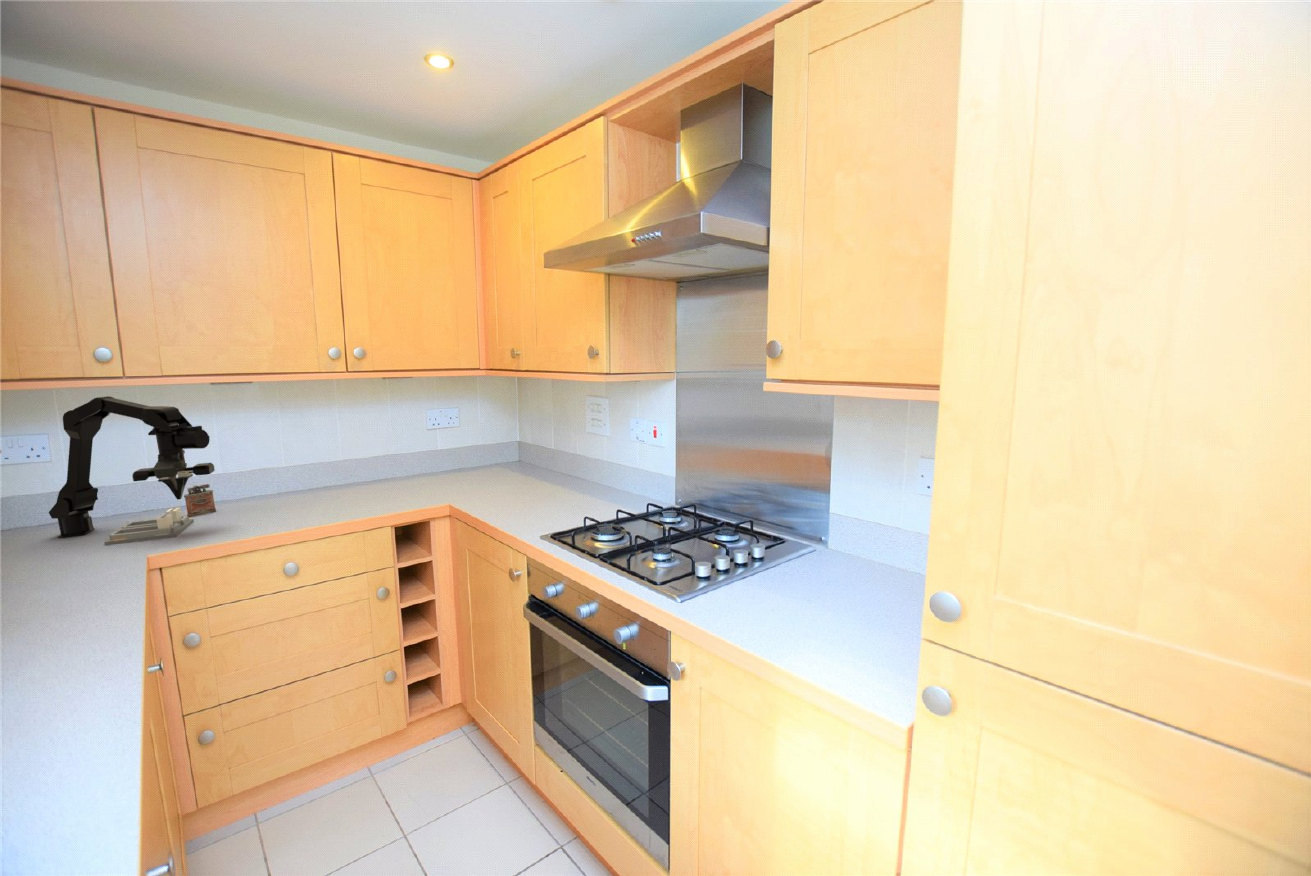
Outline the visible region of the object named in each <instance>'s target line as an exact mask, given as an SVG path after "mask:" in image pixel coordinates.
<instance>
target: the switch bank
mask: <svg viewBox="0 0 1311 876" xmlns="http://www.w3.org/2000/svg"><path fill="white" fill-rule="evenodd" d="M181 516H182V519H181V520H179V521H173V526H172V527H171V528H166V529H158V526H157V520H156V519H157V518H154V519H153V518H152V519H145V520H136V521H135V520H134V521H131V522H127V523H125V524H123V525H122V526H121V528H120V529H117V530H114V531H113V532H112V533H110V534H109V535H108V537H109V538H108V539H107V540H105V541H104V544H103V545H104V546H110V545H119V544H126V543H127V544H128V543H134V542H135V543H136V542H144V541H145V542H146V541H153V540H159V539H160V540H161V539H169V538H176V537H178V536H179V535H181V533H183V532H184V531H185V530H187V529H188V528H189V527H190V526H191V525H192V524H193V523H194V522H195V521H194V520H195V519H194V518H190V517H188V516H187V515H181ZM182 531H183V532H182Z"/></svg>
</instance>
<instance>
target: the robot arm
mask: <svg viewBox="0 0 1311 876" xmlns="http://www.w3.org/2000/svg"><path fill="white" fill-rule="evenodd" d="M110 414H115V415H119V416H123V417H127V418H133V419H136V420H139V421H142V422H143V423H144V424H145V425H147V426H150V427H152V429H151V430H150V431H149V432H148V433H147V435H148V436H155V439H156V443H157V445H156V446H157V450H158V454H157V462H156V463H155V465H154V466H153V467H147V468H146V467H143V468H140V469H137V470H135V471H134V472H133V473H132V481H133V482H141V481H142V482H143V481H144V482H145V481H147V480H148V479H149V478H152V477H156V479H157V482H159V483H161V482H162V483H163V484H165V485H166V487H168V488H169V489H170V491H171V493H172V494H173V495H174V497H175V499H176V500H177V501H179V500H182V497H183V496H184V491H185V487H186V485H187V483H188V481H189V479H191V478H192V477H194V475H196V476H207V475H211V474H212V473H214V472H215V471H216V470H215V465H214V463H212V462H203V463H197V464H195V465H194V466H189V467H188V464H187V463H188V462H186V459H185V458H186V457H185V453H186V452H185V450H187V449H188V450H189V449H190V450H192V449H193V450H194V449H195V450H196V449H205V448H207V447H208V445H209V444H210V441H211V439H210V435H209V433H208V432H207V431H206V430H205V429H203V426H202V425H195V426H193V425H192V424H191V423H190V422H189V421H188V420H187V418H186V417H185V416H184V415H183V414H182V413H181V412H180V409H179V408H178V407H175V406H164V405H162V406H161V405H158V406H155V405H154V406H152V405H151V406H150V405H145V404H141V403H136V402H132V401H128V400H124V399H123V400H122V399H119V398H116V397H112V396H107V395H106V396H98V397H94V398H92V399H90V401H88V402H86V403H84V404H82V405H80V406H78V407H75V408H74V409H72V410H67V411H65V412H64V413H63V416H62V425H63V430H64V431H65V433H66V434H67V435H68V436H69V447H68V459H67V461H68V462H67V471H66V472H67V473H66V482H65V484H64V485H63V486H62V488H61V489H60V490H59V491H58V494H57V498H56V502H55V504H54V506H52V508H51V509H50V510H49V511H48V514H49V516H50V518H51V519H56V520H57V522H58V528H59V532H60V534H59V535H57V538H58V539H60V538H66V537H68V538H69V537H75V536H84V535H87V534H88V533H91V532H92V531H93V530H95V529H96V528H95V527H94V523H93V519H92V516H90V513H89V512H90V511H91V512H92V511H93V510H94V507H95V506H94V505H95V504H96V502H97V501H99V498H98V494H99V493H98V491H99V489H98V487H94V486H93V485H92V484H91V482H90V477H91V476H90V475H91V465H92V454H93V453H92V452H93V440H94V437H95V436H96V435H97V434H98V432H99V431H100V430H101V428H102V424H103V420H104V419H105V418H107V417H109V416H110Z"/></svg>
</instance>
